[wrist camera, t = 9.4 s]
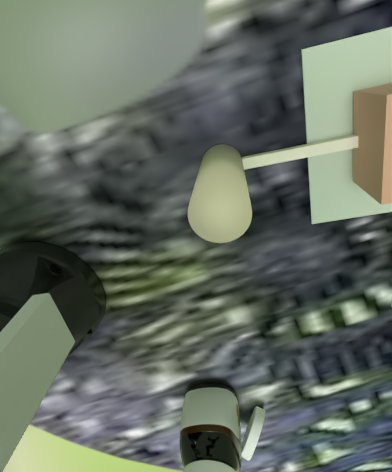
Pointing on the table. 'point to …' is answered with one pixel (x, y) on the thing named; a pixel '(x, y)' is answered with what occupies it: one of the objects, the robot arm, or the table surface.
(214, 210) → the tan block and peg
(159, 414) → the table surface
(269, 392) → the table surface
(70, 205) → the table surface
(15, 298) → the robot arm
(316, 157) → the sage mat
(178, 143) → the table surface
